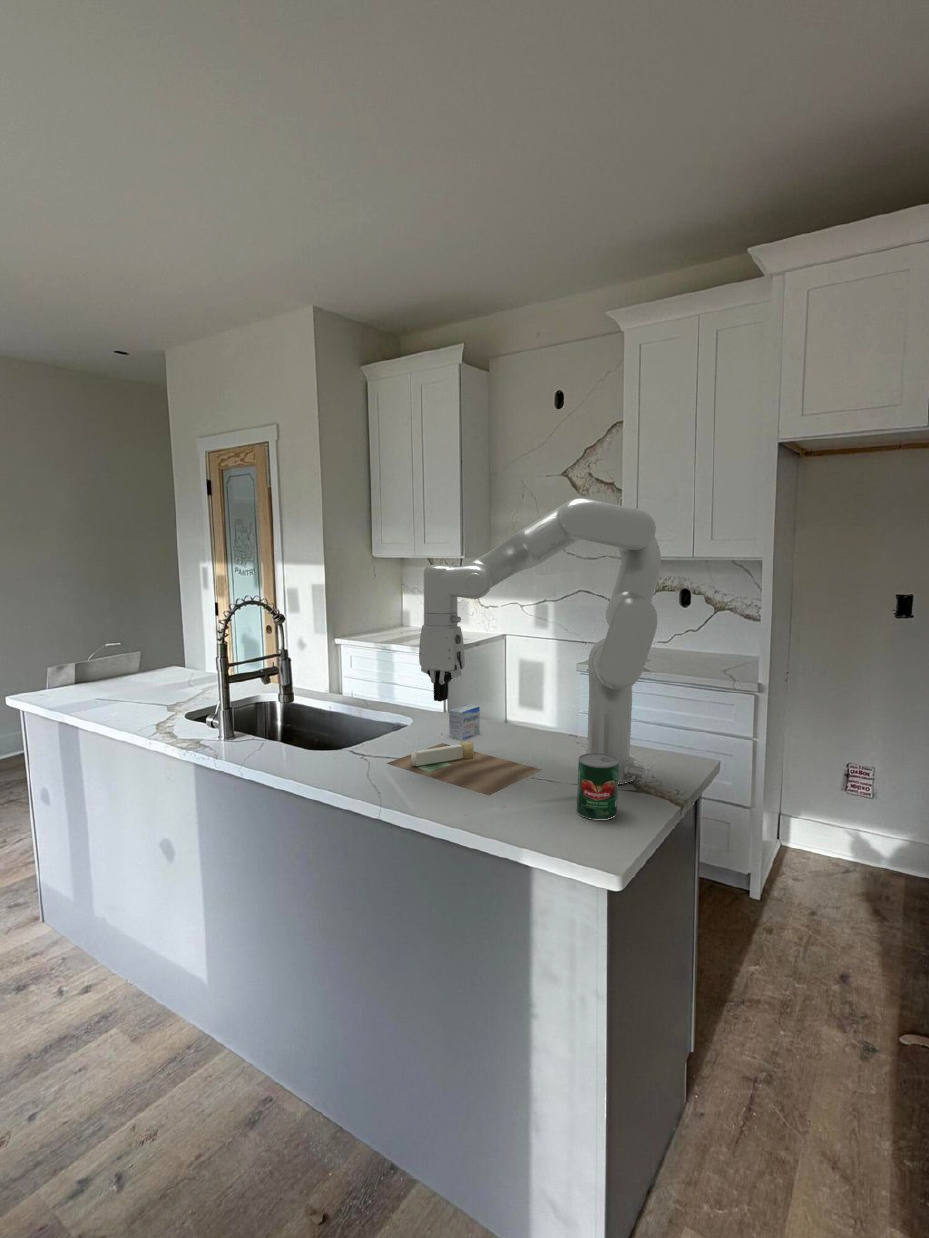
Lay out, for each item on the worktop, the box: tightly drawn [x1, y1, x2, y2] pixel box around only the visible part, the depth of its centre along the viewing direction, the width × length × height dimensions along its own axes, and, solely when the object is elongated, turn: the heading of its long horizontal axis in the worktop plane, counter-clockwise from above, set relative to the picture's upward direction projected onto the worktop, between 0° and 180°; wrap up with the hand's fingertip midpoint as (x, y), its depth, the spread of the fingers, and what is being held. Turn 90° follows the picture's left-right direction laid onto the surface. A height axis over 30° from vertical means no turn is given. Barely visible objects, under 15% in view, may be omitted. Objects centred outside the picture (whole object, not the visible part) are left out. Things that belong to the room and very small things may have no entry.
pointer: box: [410, 740, 474, 766], centre depth 162 cm, size 16×3×3 cm, turn 118°
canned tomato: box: [576, 753, 619, 819], centre depth 136 cm, size 8×8×11 cm
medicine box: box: [448, 704, 481, 741], centre depth 183 cm, size 8×4×9 cm, turn 143°
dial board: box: [386, 742, 542, 796], centre depth 159 cm, size 30×20×1 cm, turn 51°
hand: (440, 699), depth 156 cm, fingers closed
